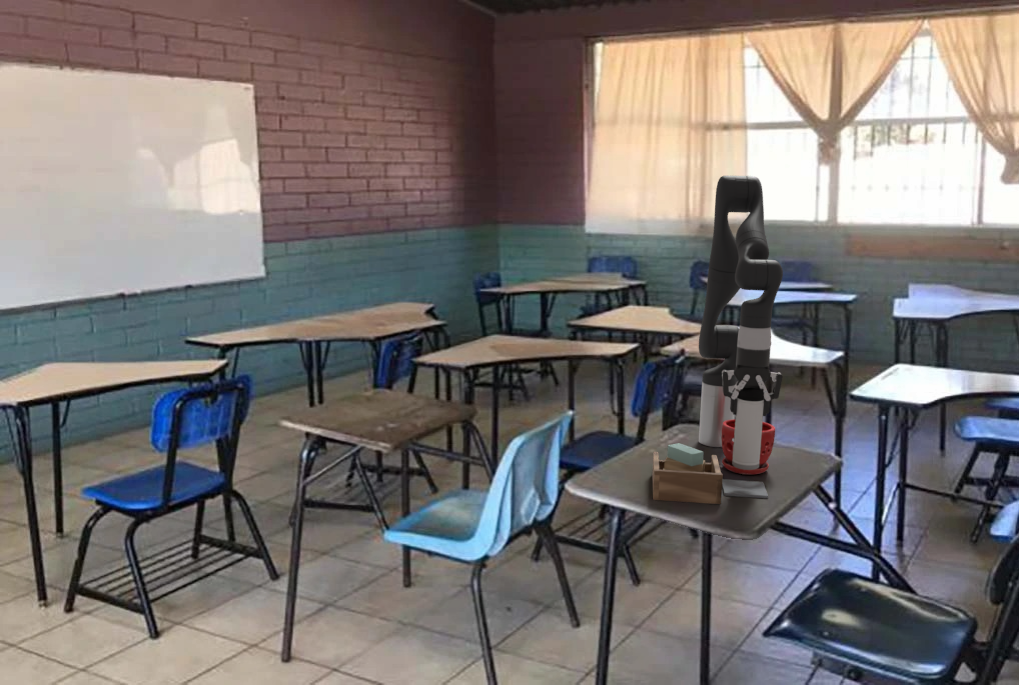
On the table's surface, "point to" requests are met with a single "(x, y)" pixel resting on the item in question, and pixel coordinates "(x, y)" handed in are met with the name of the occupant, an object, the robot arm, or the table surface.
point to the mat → (744, 488)
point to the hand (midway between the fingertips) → (749, 414)
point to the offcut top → (685, 454)
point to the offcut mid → (682, 466)
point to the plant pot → (765, 449)
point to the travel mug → (748, 428)
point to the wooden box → (687, 483)
